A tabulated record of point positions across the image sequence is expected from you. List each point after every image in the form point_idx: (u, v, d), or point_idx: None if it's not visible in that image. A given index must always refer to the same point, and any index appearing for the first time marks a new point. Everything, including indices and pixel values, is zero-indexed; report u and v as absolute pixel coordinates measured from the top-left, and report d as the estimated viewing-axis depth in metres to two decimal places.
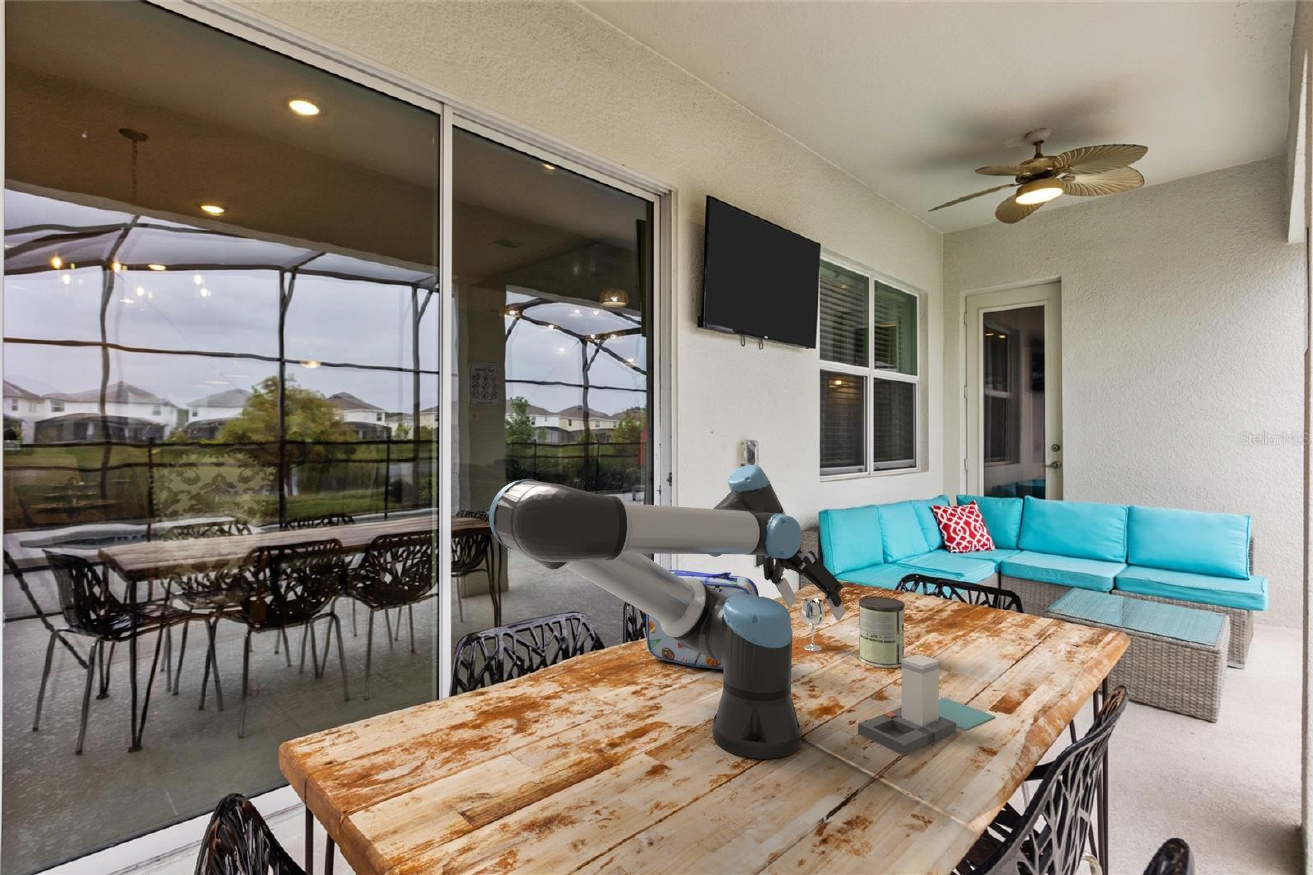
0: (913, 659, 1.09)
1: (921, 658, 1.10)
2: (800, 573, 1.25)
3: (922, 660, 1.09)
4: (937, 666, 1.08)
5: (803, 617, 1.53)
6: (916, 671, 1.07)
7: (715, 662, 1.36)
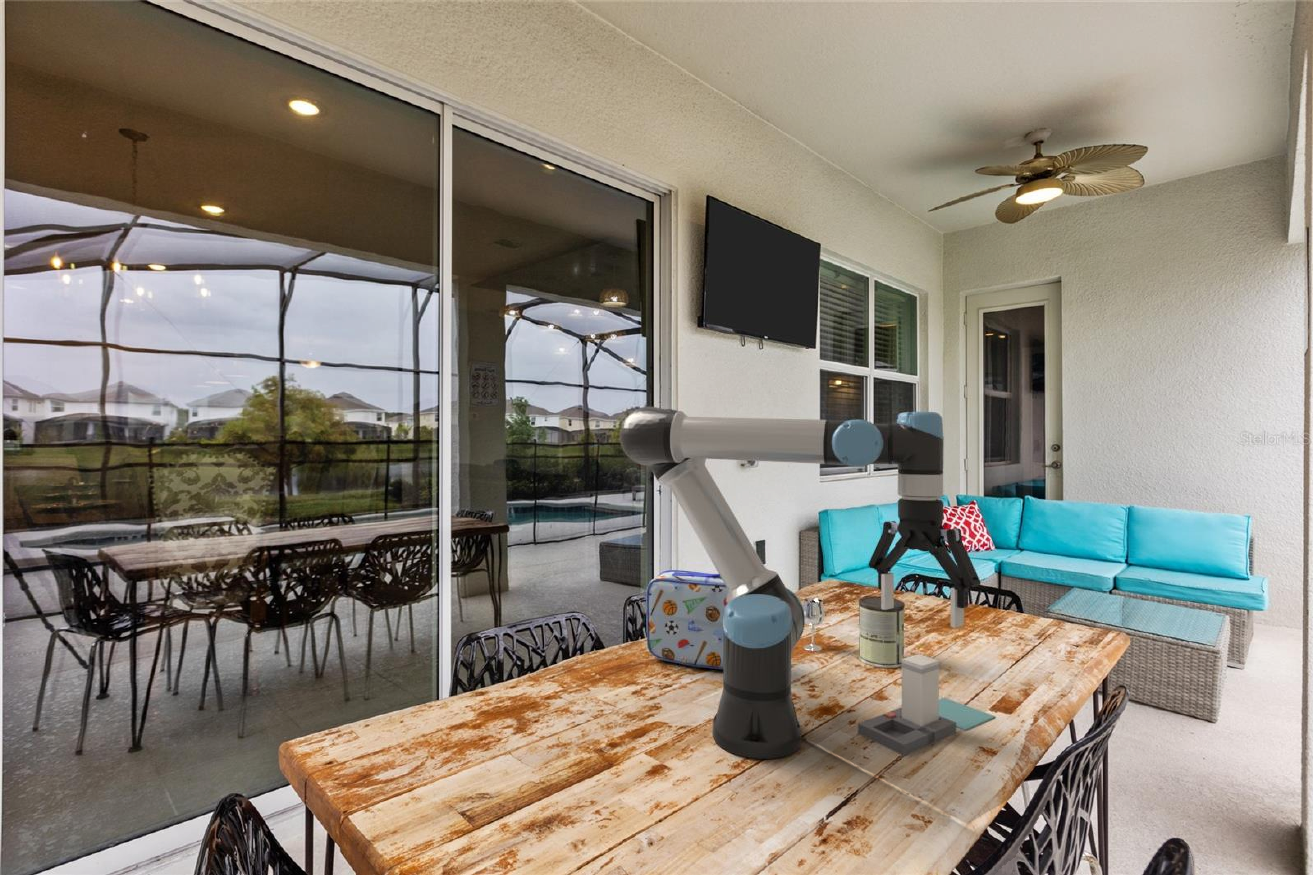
0: (913, 659, 1.09)
1: (921, 658, 1.10)
2: (932, 551, 1.06)
3: (922, 660, 1.09)
4: (937, 666, 1.08)
5: None
6: (916, 671, 1.07)
7: (715, 662, 1.36)
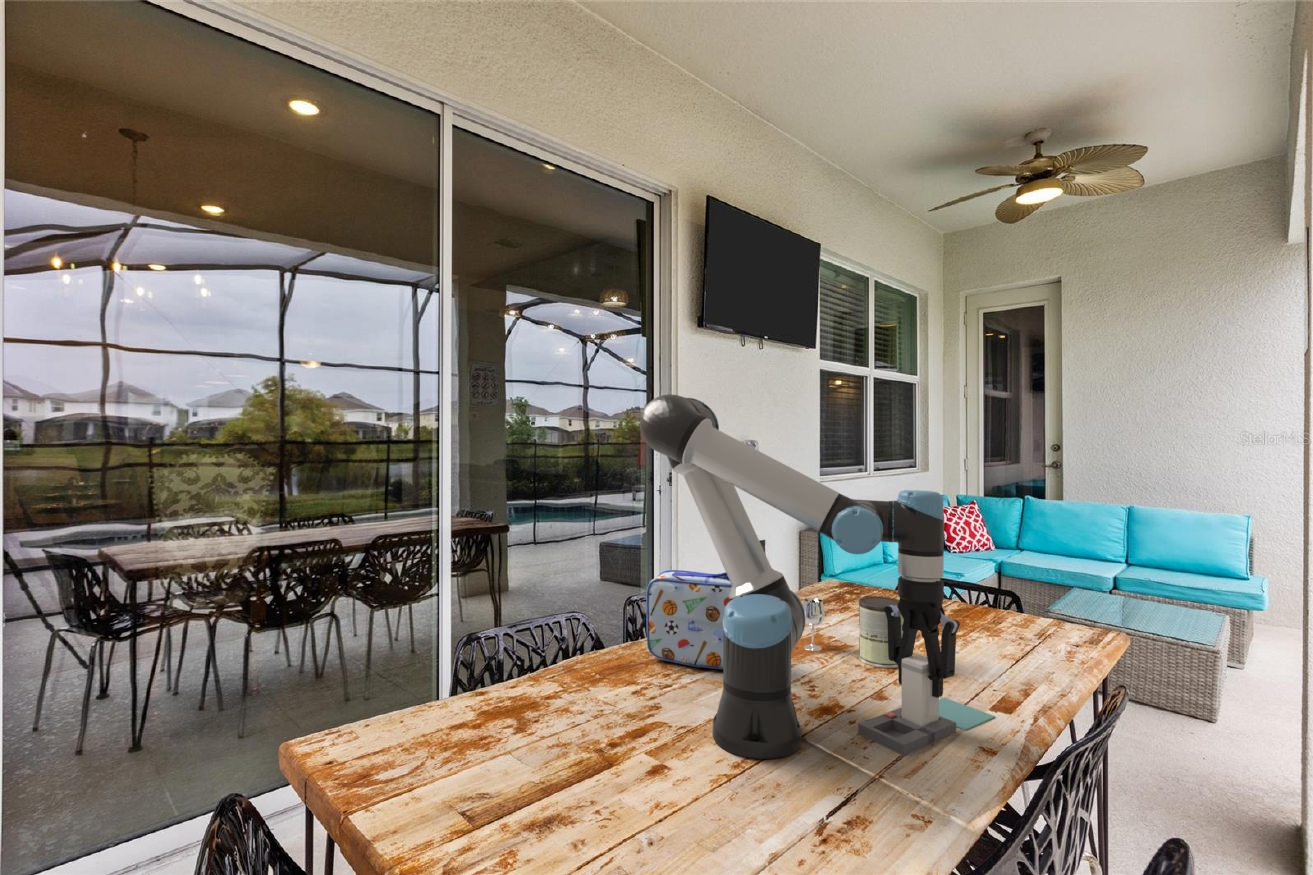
0: (913, 659, 1.09)
1: (921, 658, 1.10)
2: (924, 635, 1.06)
3: (922, 660, 1.09)
4: None
5: None
6: (916, 671, 1.07)
7: (715, 662, 1.36)
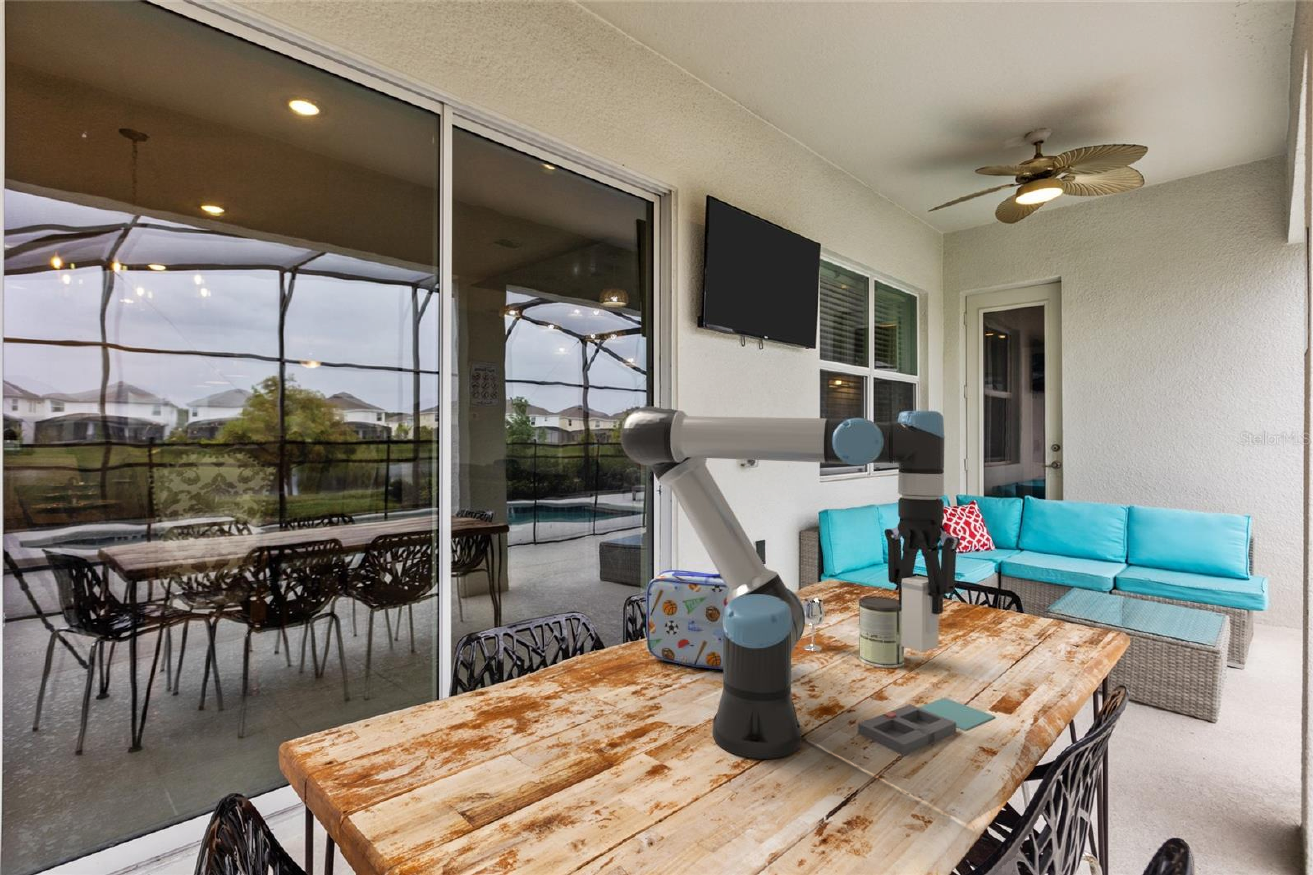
0: (913, 579, 1.09)
1: (921, 578, 1.10)
2: (924, 553, 1.07)
3: (922, 579, 1.09)
4: None
5: None
6: (916, 589, 1.07)
7: (715, 662, 1.36)
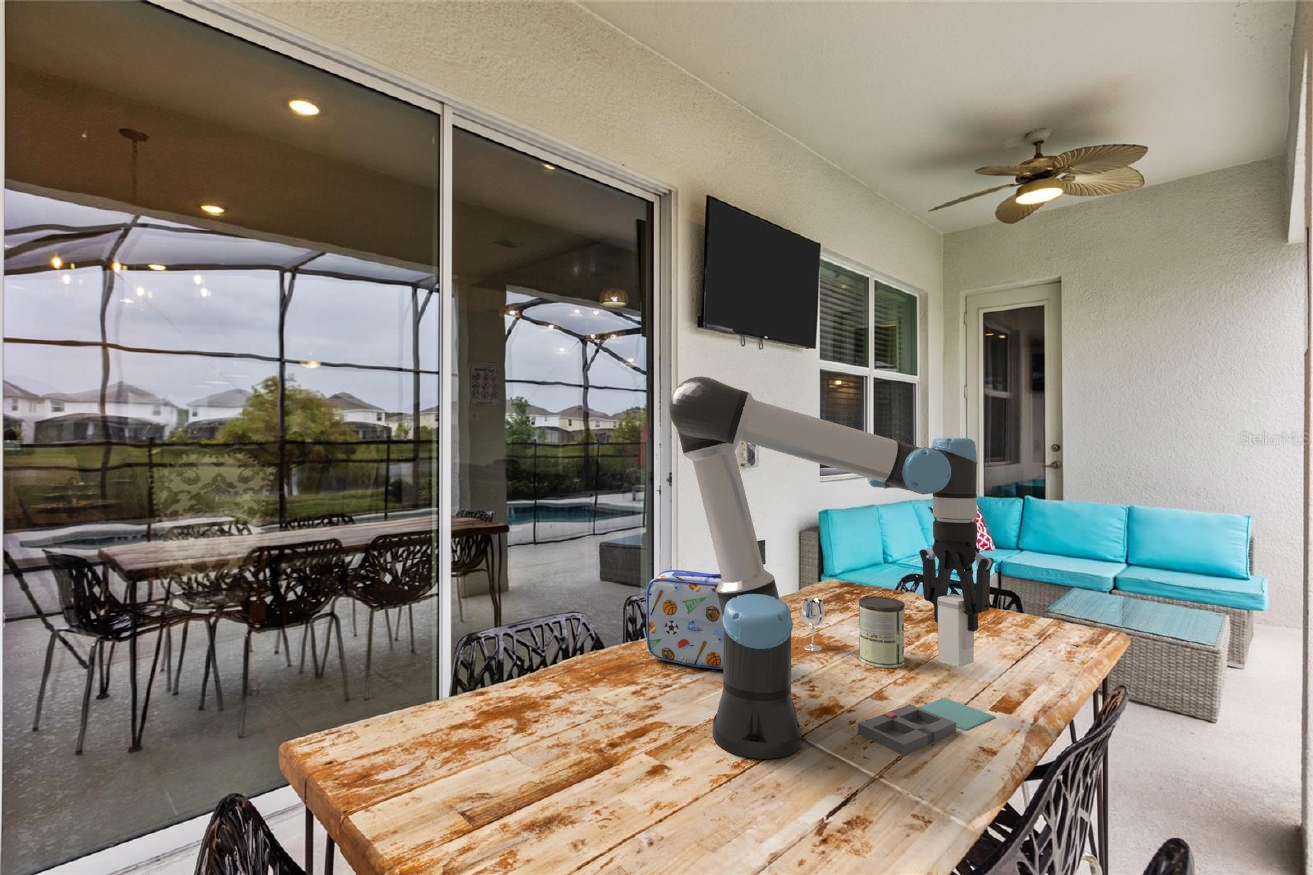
0: (948, 597, 1.15)
1: (956, 596, 1.16)
2: (960, 573, 1.12)
3: (957, 597, 1.15)
4: None
5: (803, 617, 1.53)
6: (952, 607, 1.13)
7: (715, 662, 1.36)
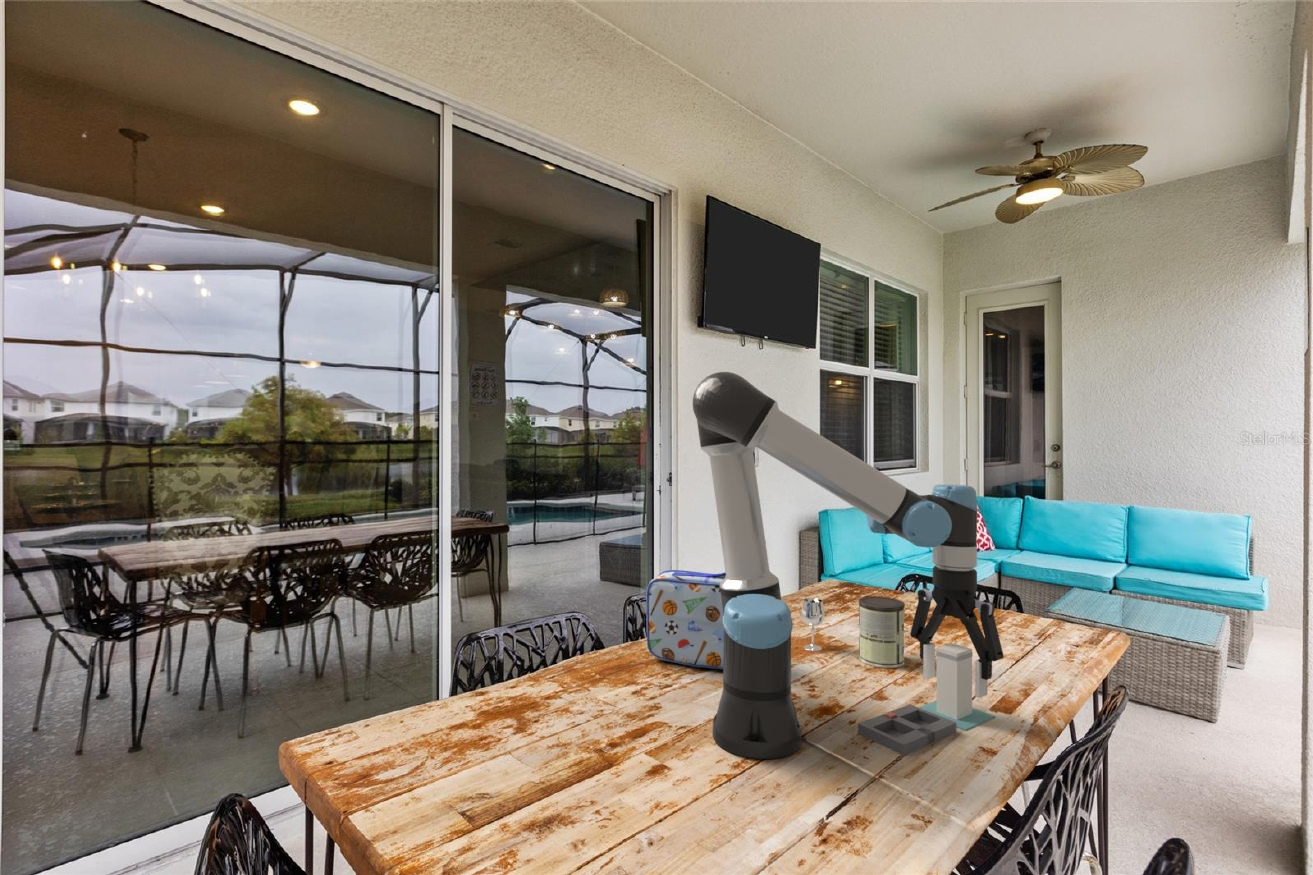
0: (947, 648, 1.15)
1: (955, 647, 1.15)
2: (964, 621, 1.12)
3: (956, 648, 1.15)
4: (971, 654, 1.14)
5: (803, 617, 1.53)
6: (951, 659, 1.13)
7: (715, 662, 1.36)
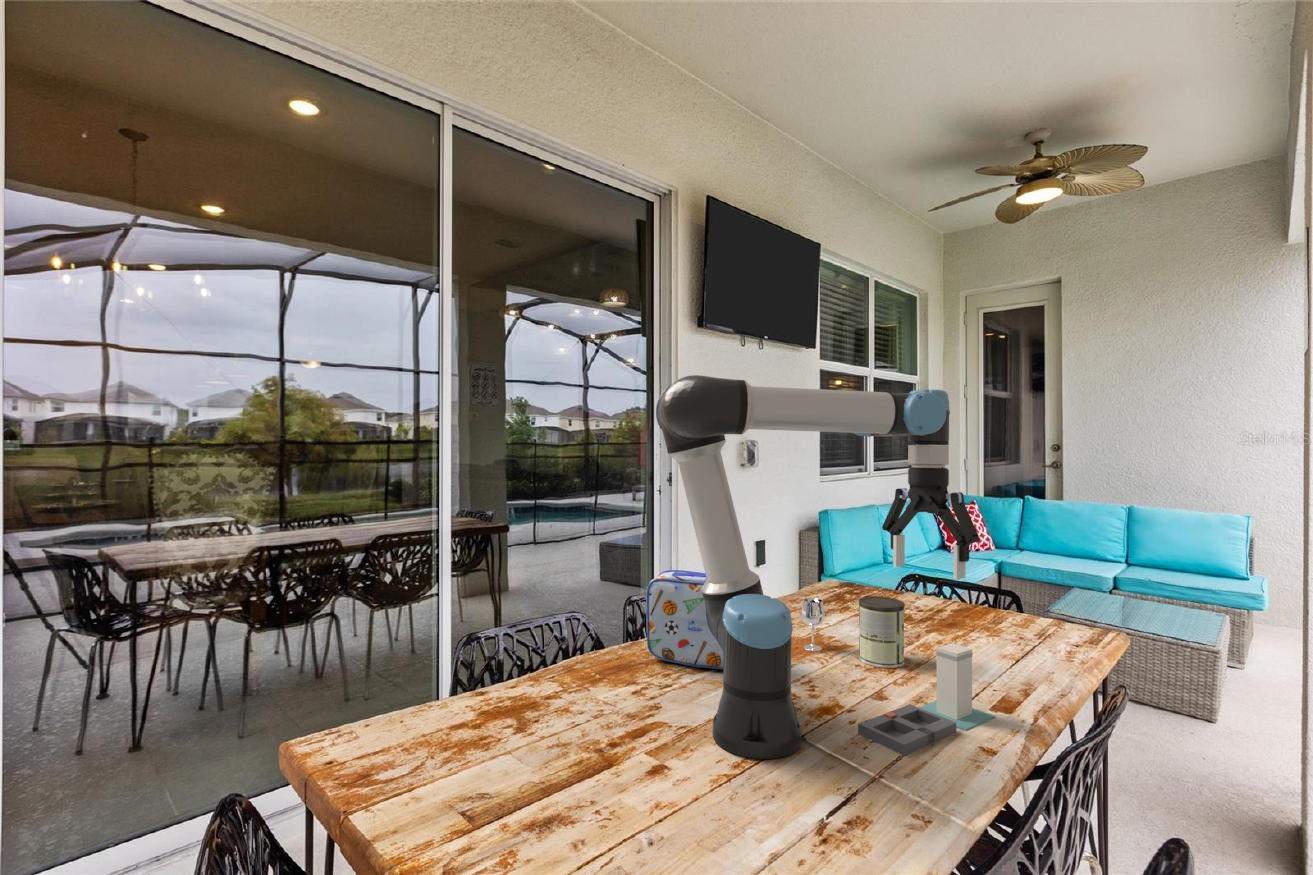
0: (947, 648, 1.15)
1: (955, 647, 1.15)
2: (938, 512, 1.19)
3: (956, 648, 1.15)
4: (971, 654, 1.14)
5: (803, 617, 1.53)
6: (951, 659, 1.13)
7: (715, 662, 1.36)
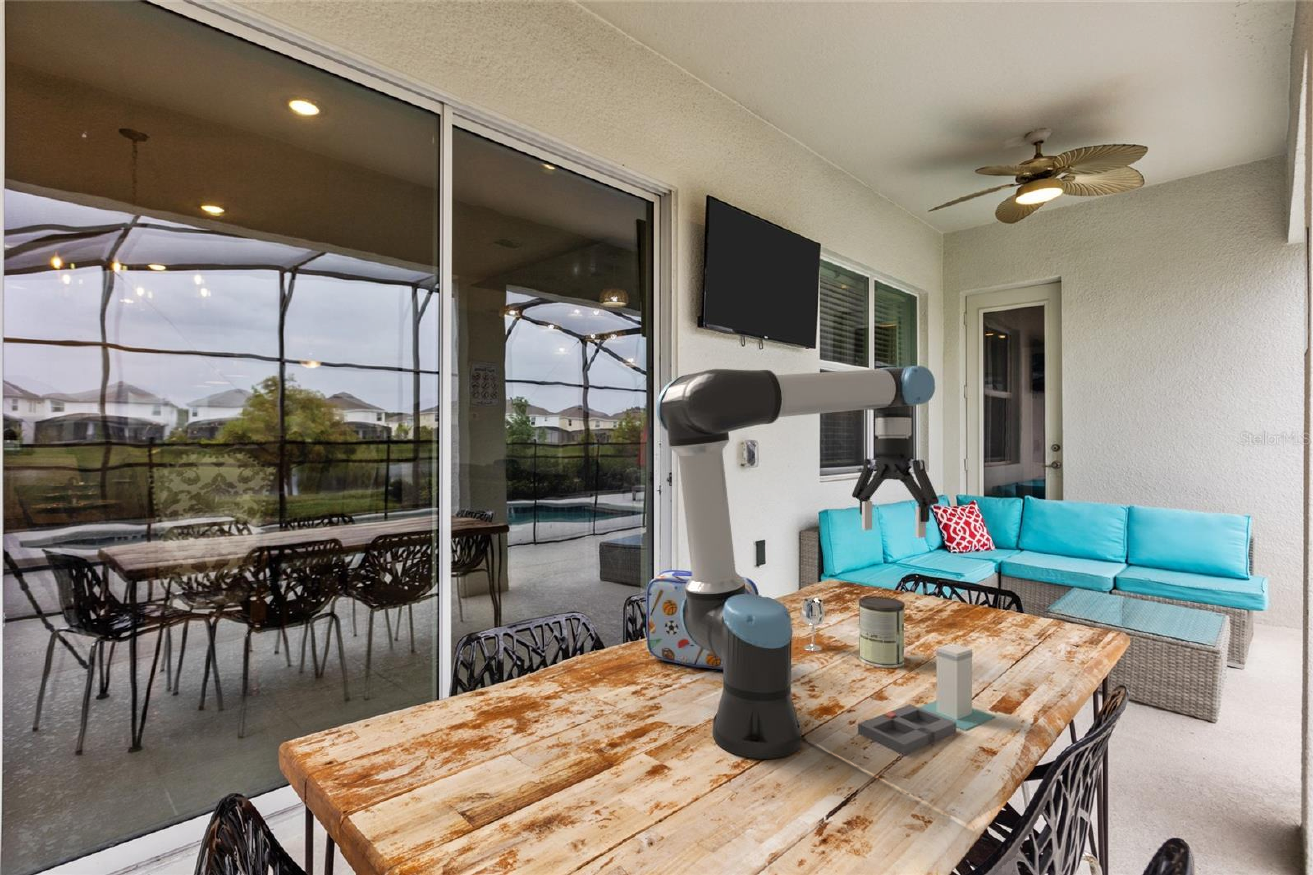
0: (947, 648, 1.15)
1: (955, 647, 1.15)
2: (902, 478, 1.32)
3: (956, 648, 1.15)
4: (971, 654, 1.14)
5: (803, 617, 1.53)
6: (951, 659, 1.13)
7: (715, 662, 1.36)
